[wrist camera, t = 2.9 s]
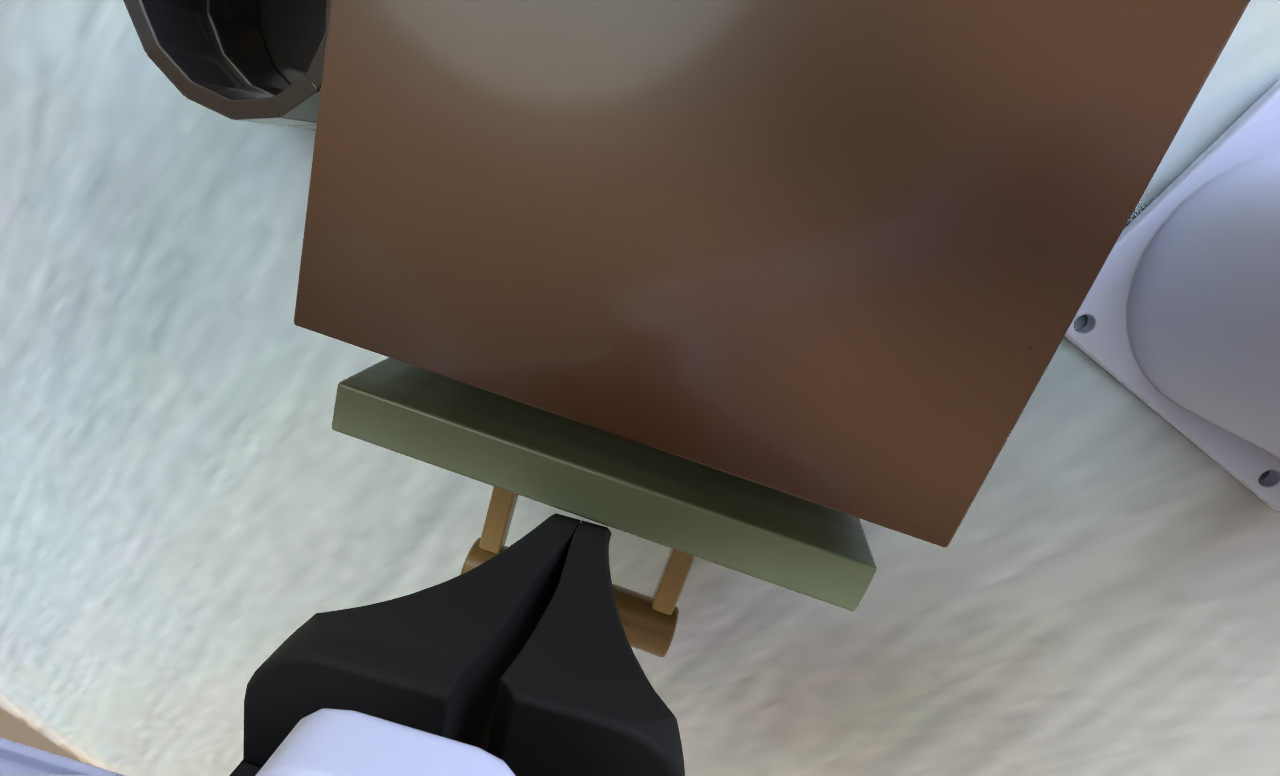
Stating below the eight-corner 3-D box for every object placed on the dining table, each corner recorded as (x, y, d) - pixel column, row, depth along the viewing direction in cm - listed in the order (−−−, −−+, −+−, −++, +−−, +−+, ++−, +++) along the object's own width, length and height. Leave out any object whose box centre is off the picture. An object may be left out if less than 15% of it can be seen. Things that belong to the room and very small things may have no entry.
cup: (466, 0, 18) (388, -53, 14) (372, 171, 19) (280, 169, 16) (300, -134, 17) (170, -228, 13) (221, 55, 19) (85, 21, 15)
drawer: (763, 609, 21) (773, 772, 15) (420, 489, 22) (304, 603, 16) (1018, 49, 15) (1188, -30, 10) (542, -97, 16) (429, -258, 10)
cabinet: (867, 409, 20) (947, 550, 12) (457, 271, 20) (291, 325, 13) (1101, -96, 15) (1456, -368, 8) (563, -256, 16) (405, -654, 8)
